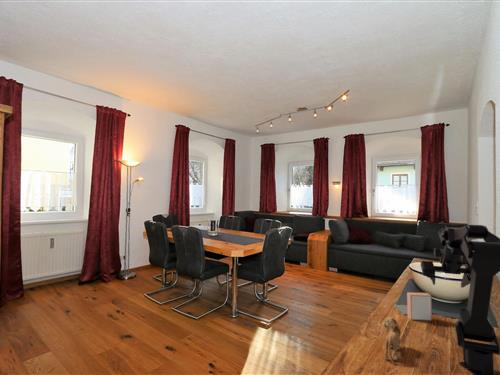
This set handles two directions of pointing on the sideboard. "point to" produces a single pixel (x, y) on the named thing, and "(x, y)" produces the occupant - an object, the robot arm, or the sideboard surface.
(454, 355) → the sideboard surface
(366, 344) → the sideboard surface
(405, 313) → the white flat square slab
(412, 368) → the sideboard surface
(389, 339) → the dog figurine
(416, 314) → the tile
